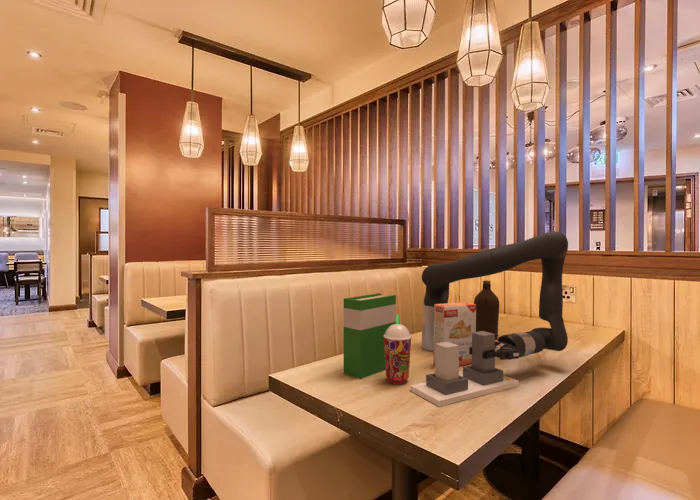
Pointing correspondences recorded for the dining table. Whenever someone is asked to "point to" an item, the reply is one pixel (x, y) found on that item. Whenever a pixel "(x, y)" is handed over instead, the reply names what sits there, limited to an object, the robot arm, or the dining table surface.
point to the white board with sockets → (458, 379)
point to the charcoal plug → (480, 344)
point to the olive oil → (487, 310)
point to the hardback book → (366, 333)
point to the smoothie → (397, 353)
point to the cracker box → (455, 327)
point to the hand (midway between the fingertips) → (476, 353)
